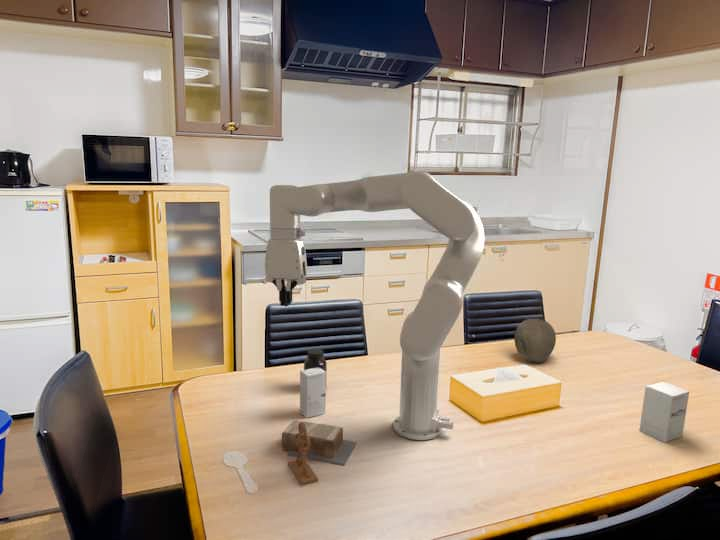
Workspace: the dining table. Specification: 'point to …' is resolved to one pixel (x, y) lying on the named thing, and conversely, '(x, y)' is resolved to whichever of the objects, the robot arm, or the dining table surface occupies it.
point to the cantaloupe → (535, 339)
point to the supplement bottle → (315, 360)
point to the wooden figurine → (302, 459)
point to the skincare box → (312, 392)
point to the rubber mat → (338, 459)
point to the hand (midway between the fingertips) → (285, 304)
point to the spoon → (240, 468)
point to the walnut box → (314, 438)
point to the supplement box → (664, 411)
